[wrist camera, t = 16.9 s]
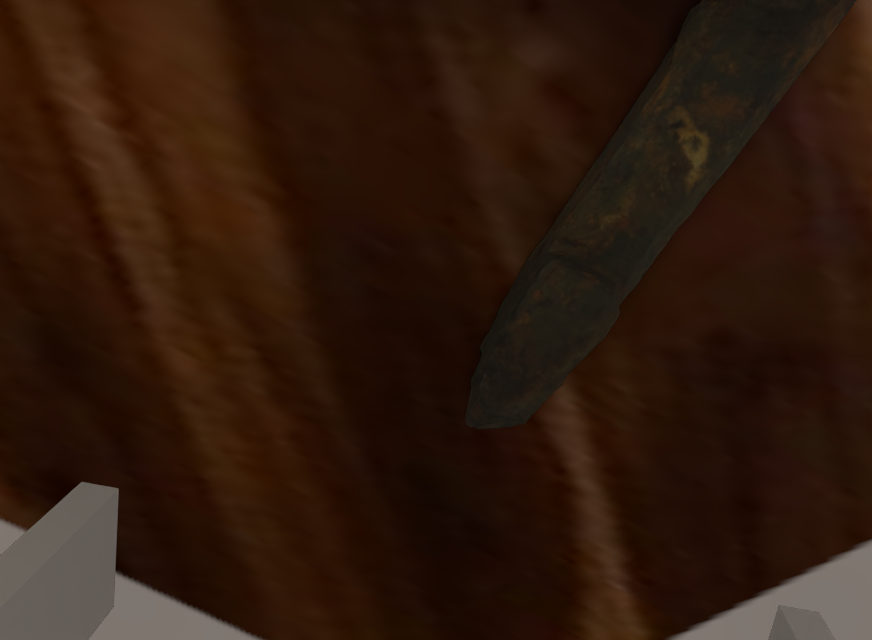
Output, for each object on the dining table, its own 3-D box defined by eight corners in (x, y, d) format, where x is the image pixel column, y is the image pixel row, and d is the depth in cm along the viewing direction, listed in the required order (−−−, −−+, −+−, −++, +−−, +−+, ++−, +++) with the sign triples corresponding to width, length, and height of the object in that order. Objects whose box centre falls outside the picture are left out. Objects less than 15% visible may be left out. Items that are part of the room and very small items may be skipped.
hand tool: (806, -185, 22) (877, -259, 17) (920, -94, 22) (1019, -143, 18) (405, 350, 27) (381, 398, 23) (502, 419, 27) (497, 481, 23)
